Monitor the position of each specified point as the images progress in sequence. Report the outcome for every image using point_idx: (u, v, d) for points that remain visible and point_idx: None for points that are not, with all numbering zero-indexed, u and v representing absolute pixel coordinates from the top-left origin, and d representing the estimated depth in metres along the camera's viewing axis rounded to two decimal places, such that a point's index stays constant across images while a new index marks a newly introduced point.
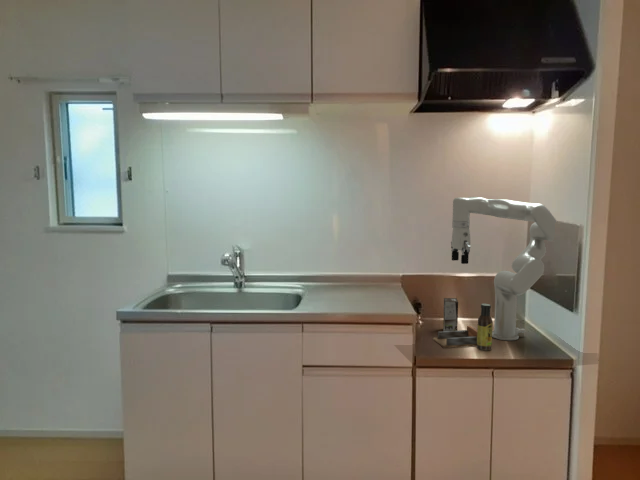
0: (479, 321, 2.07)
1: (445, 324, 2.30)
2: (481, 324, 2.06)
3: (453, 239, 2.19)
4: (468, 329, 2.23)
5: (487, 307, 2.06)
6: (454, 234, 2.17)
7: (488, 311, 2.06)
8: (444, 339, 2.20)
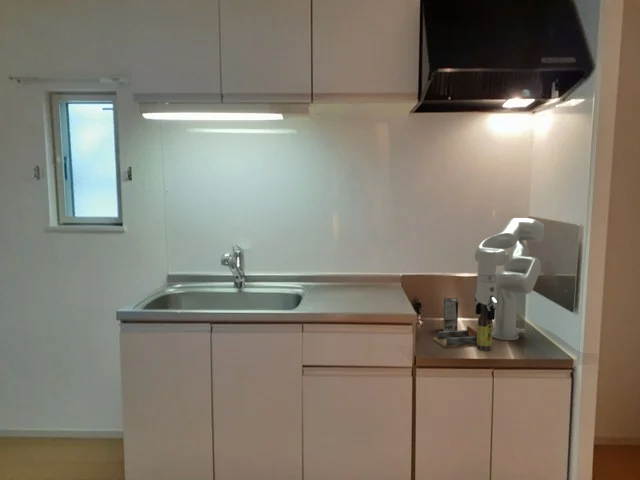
0: (479, 321, 2.07)
1: (445, 324, 2.30)
2: (481, 324, 2.06)
3: (478, 293, 2.08)
4: (468, 329, 2.23)
5: None
6: (479, 287, 2.07)
7: None
8: (444, 339, 2.20)
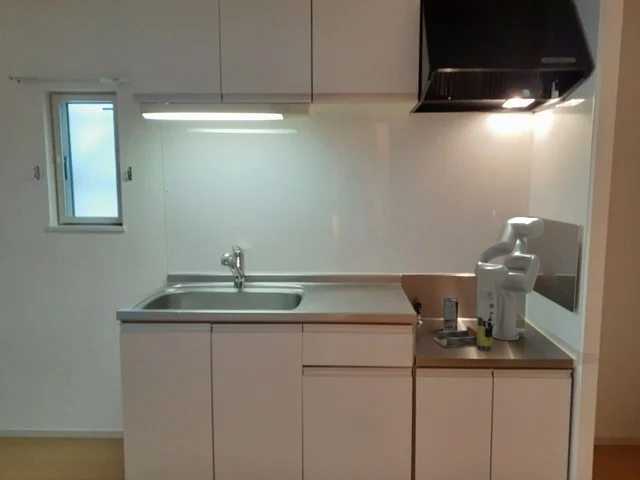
0: (479, 321, 2.07)
1: (445, 324, 2.30)
2: (481, 324, 2.06)
3: (478, 308, 2.09)
4: (468, 329, 2.23)
5: None
6: (479, 303, 2.08)
7: None
8: (444, 339, 2.20)
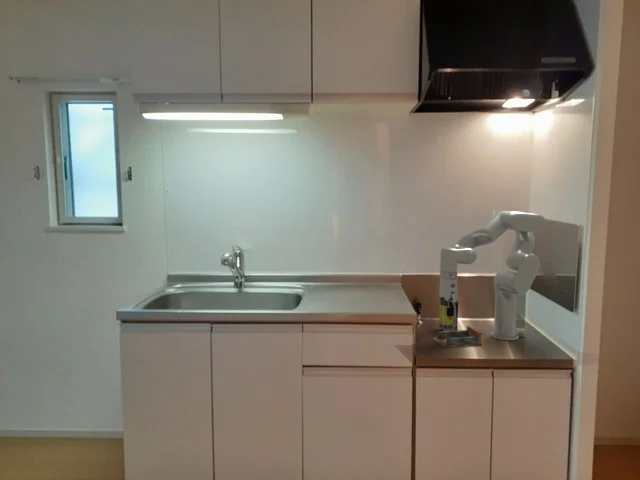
0: (441, 301, 2.14)
1: None
2: (443, 304, 2.13)
3: (440, 289, 2.16)
4: (468, 329, 2.23)
5: None
6: (441, 284, 2.15)
7: None
8: (444, 339, 2.20)
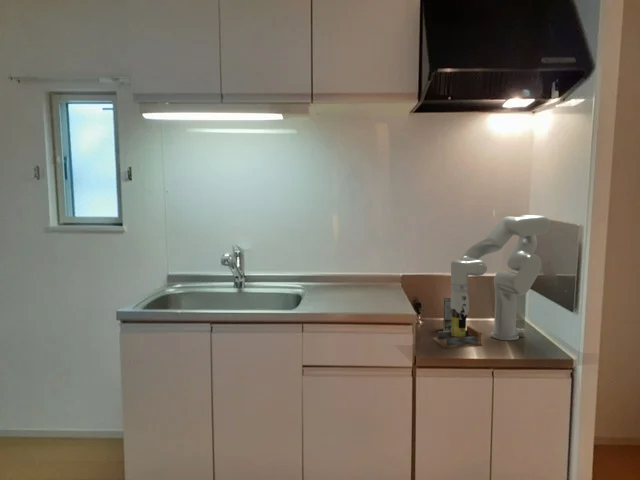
0: (453, 313, 2.16)
1: (445, 324, 2.30)
2: (454, 316, 2.15)
3: (452, 301, 2.18)
4: (468, 329, 2.23)
5: None
6: (452, 296, 2.16)
7: None
8: (444, 339, 2.20)
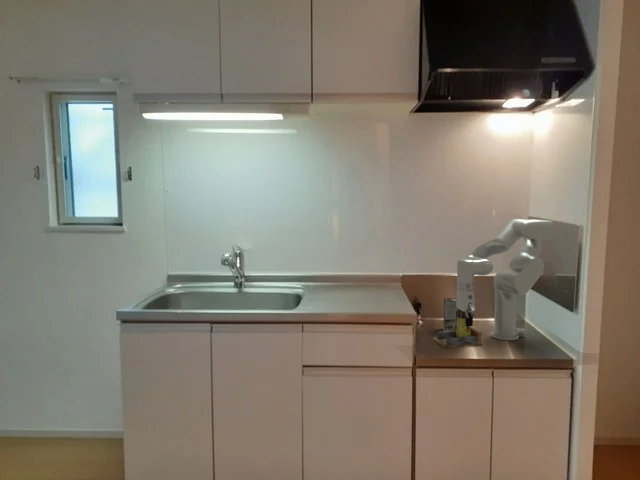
0: (458, 313, 2.17)
1: (445, 324, 2.30)
2: (460, 316, 2.16)
3: (457, 300, 2.18)
4: None
5: None
6: (458, 295, 2.17)
7: None
8: (444, 339, 2.20)
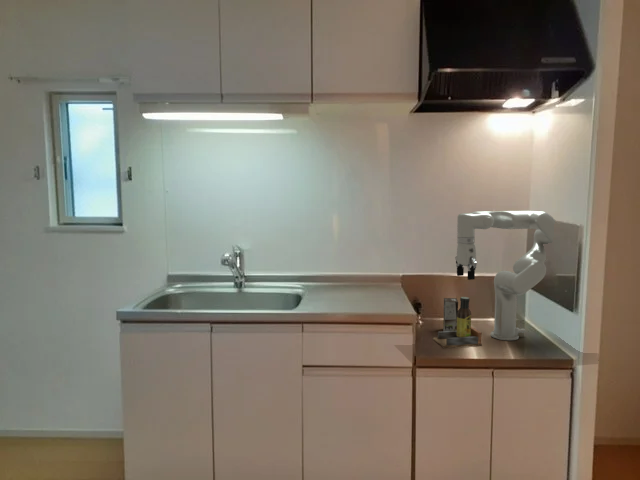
0: (458, 313, 2.17)
1: (445, 324, 2.30)
2: (460, 316, 2.16)
3: (458, 255, 2.19)
4: None
5: (466, 300, 2.15)
6: (459, 249, 2.18)
7: (466, 304, 2.15)
8: (444, 339, 2.20)
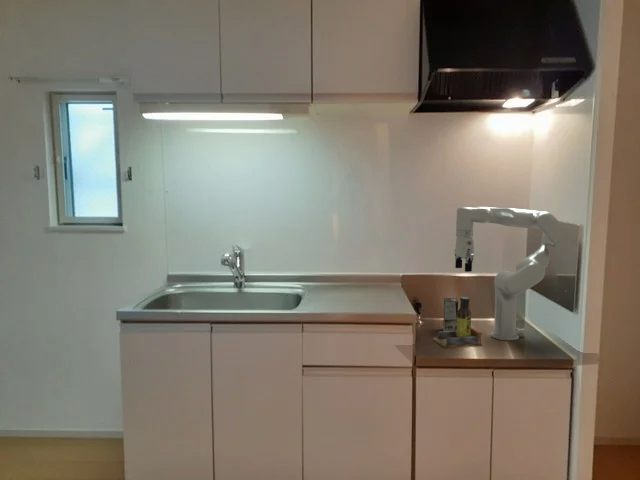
0: (458, 313, 2.17)
1: (445, 324, 2.30)
2: (460, 316, 2.16)
3: (457, 247, 2.24)
4: None
5: (466, 300, 2.15)
6: (457, 242, 2.23)
7: (466, 304, 2.15)
8: (444, 339, 2.20)
